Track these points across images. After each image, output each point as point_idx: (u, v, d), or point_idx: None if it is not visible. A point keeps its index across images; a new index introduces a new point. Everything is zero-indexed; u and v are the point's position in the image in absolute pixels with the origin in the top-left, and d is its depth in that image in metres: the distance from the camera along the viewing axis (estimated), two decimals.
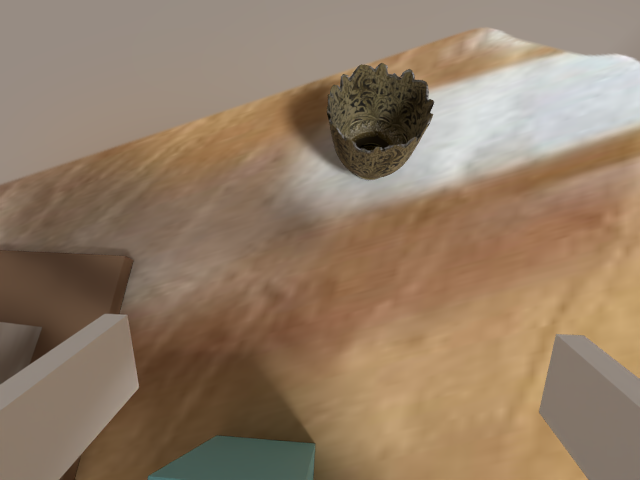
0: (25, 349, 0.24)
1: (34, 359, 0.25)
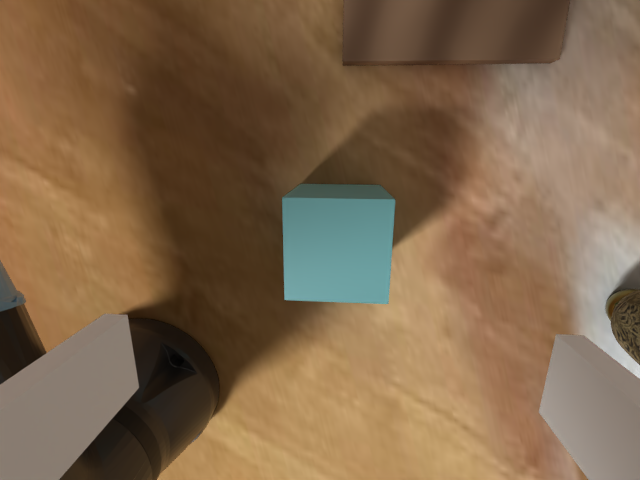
0: None
1: None
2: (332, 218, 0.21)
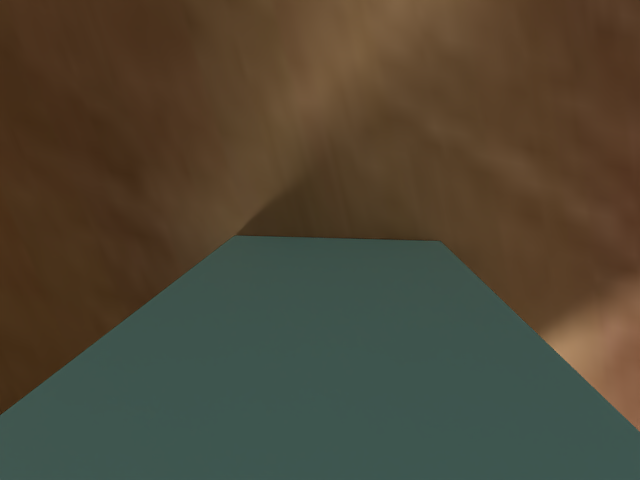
0: None
1: None
2: None
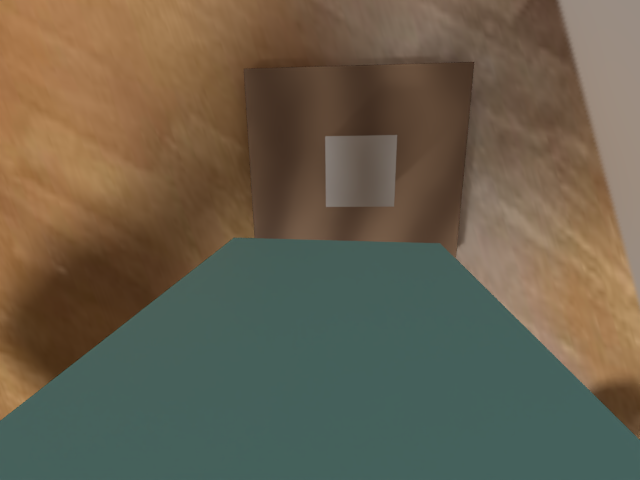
0: None
1: None
2: None
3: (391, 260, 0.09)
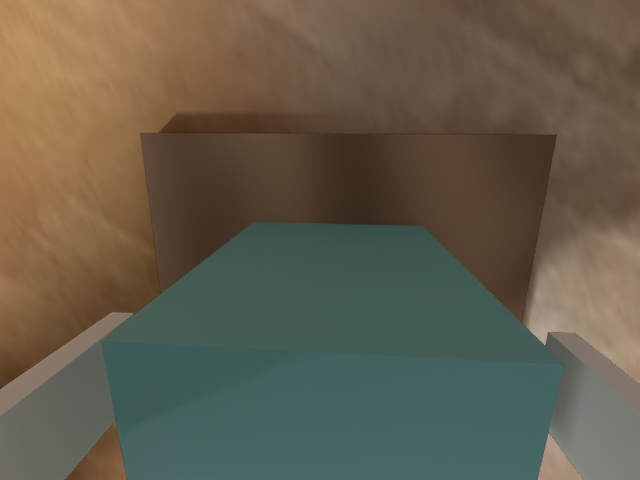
0: None
1: None
2: (300, 419, 0.05)
3: (381, 236, 0.12)
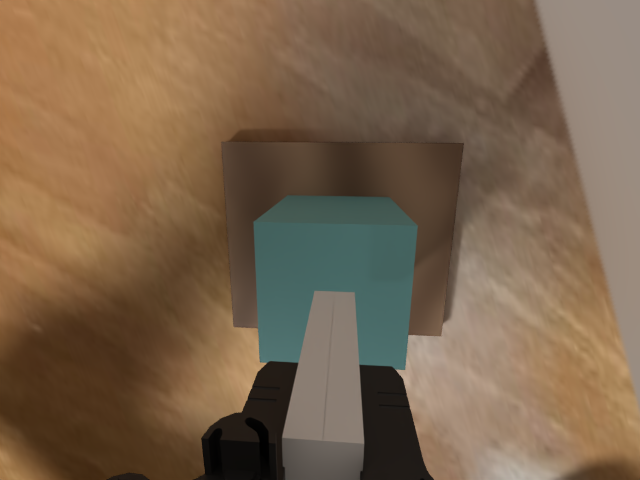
0: None
1: None
2: (326, 251, 0.14)
3: (363, 200, 0.21)
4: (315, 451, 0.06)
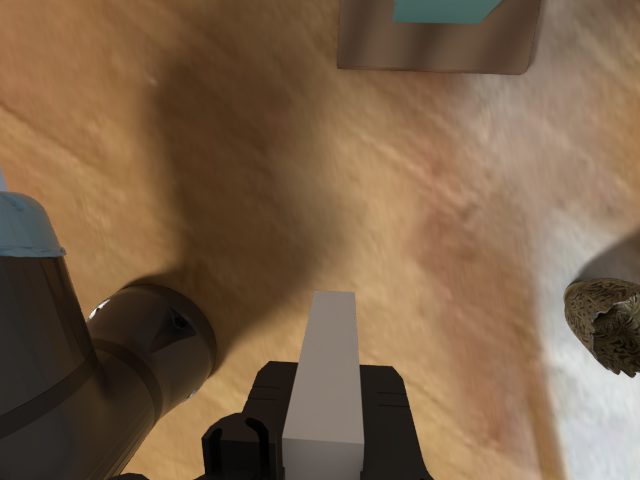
0: None
1: None
2: None
3: None
4: (315, 451, 0.06)
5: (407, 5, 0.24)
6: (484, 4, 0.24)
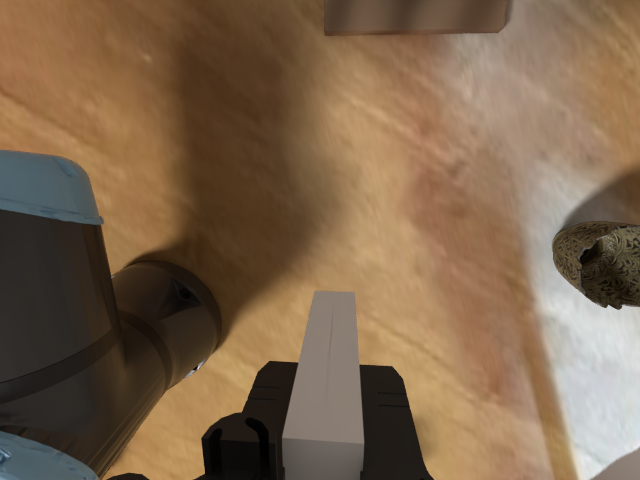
0: None
1: None
2: None
3: None
4: (315, 451, 0.06)
5: None
6: None
